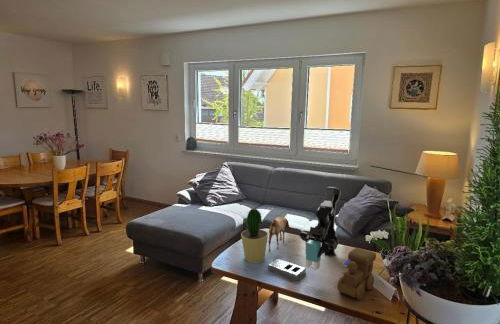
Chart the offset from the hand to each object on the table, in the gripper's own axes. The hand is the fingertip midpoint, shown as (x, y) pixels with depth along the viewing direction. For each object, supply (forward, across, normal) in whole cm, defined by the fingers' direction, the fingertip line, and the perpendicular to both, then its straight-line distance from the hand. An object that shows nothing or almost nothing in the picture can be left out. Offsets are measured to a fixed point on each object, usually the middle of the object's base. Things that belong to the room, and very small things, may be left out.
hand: (312, 255), depth 155 cm
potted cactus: (+8, -38, +11) cm, 40 cm away
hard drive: (-11, +10, +31) cm, 35 cm away
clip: (+4, 0, +6) cm, 7 cm away
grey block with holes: (+9, -15, +9) cm, 20 cm away
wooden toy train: (+6, +20, +13) cm, 25 cm away
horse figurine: (-9, -33, +28) cm, 45 cm away
